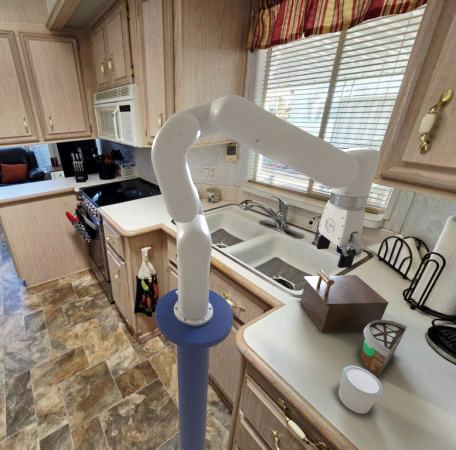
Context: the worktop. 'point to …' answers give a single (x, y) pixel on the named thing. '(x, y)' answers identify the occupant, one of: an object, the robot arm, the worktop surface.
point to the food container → (380, 343)
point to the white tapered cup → (359, 389)
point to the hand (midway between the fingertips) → (332, 257)
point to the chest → (339, 313)
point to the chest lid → (343, 290)
